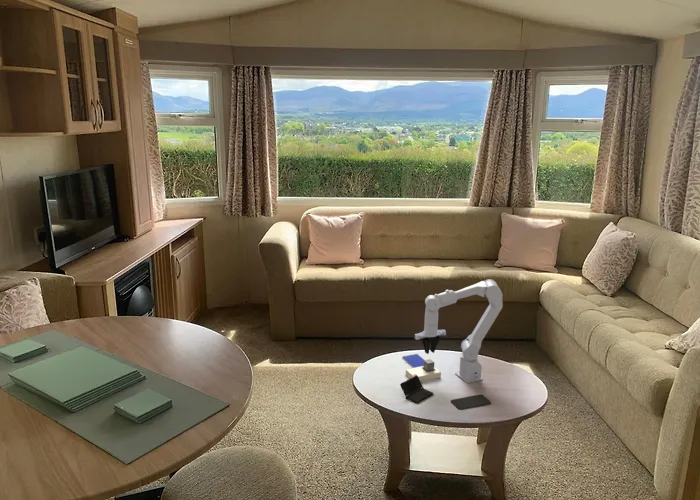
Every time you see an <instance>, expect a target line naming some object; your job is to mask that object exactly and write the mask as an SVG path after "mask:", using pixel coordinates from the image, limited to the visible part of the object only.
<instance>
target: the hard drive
mask: <svg viewBox="0 0 700 500" xmlns="http://www.w3.org/2000/svg"><path fill="white" fill-rule="evenodd" d="M401 359H402V360H404V361H405V363H407V365H409V366H410V367H411V368H415V367H420V366H423V363H424V360H425V359H424V358H423V357H422V356H420V355H419V354H418V353H415V354H409V355H403V356H402V358H401Z"/></svg>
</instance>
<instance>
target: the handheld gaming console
mask: <svg viewBox="0 0 700 500" xmlns="http://www.w3.org/2000/svg"><path fill="white" fill-rule="evenodd" d="M399 385H400V388H401V390H402V391H403V394H404V396H405V399H406V400H408V401H410V402H412V403H414V404H417V405H418V404H420V403H422V402H423V401H425V400H427V399H429V398H431V397H432V396H434V394H435V393H434V392H432V391H430V390H428V389H426V388H425V387H424V386H423V384H422V381H421V382H420V380H419V378H418V376H415V377H413V378H411V379H410V378H409V379H407V380H405V381H403V382H401V383H400V384H399Z"/></svg>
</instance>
